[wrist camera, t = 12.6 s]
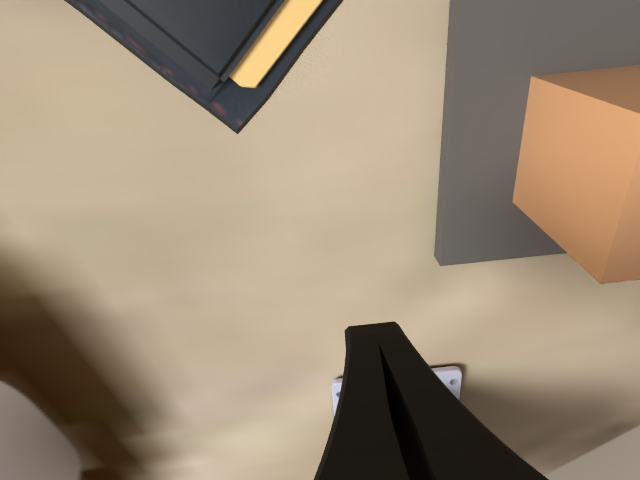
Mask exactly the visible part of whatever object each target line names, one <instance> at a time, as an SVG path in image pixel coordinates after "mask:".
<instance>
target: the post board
mask: <svg viewBox="0 0 640 480" xmlns="http://www.w3.org/2000/svg"><path fill="white" fill-rule="evenodd" d="M635 65H640V0H450V10H449V26H448V42H447V59H446V75H445V91H444V107H443V123H442V140H441V156H440V172H439V188H438V204H437V220H436V237H435V253H434V256H435V258H436V259H437V261H438V263H439V265H440V266H445V265H455V264H465V263H474V262H484V261H493V260H503V259H513V258H522V257H532V256H541V255H551V254H561V253H567V252H566V251H565V250H564V249H563V248H561V247H560V246H559V245H558V244H557V243H556V242H555V241H554V240H553V239H552V238H551V237H550V236H549V235H547V234H546V233H545V232H544V231H543V230H542V229H541V228H540V227H539V226H538V225H537V224H536V223H535V222H533V221H532V220H531V219H530V218H529V217H528V216H527V215H526V214H525V213H524V212H523V211H522V210H521V209H520V208H518V207H517V206H516V205H515V204H514V203H513V202H512V201H513V194H514V187H515V181H516V174H517V167H518V161H519V154H520V147H521V141H522V134H523V127H524V120H525V114H526V107H527V100H528V94H529V87H530V80H531V76H538V75H547V74H557V73H567V72H577V71H587V70H596V69H606V68H616V67H626V66H635Z"/></svg>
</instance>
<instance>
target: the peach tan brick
mask: <svg viewBox="0 0 640 480" xmlns="http://www.w3.org/2000/svg"><path fill="white" fill-rule="evenodd" d="M512 202H513V203H514V204H515V205H516V206H517V207H518V208H520V209H521V210H522V211H523V212H524V213H525V214H526V215H527V216H528V217H529V218H530V219H531V220H532V221H533V222H535V223H536V224H537V225H538V226H539V227H540V228H541V229H542V230H543V231H544V232H545V233H546V234H547V235H549V236H550V237H551V238H552V239H553V240H554V241H555V242H556V243H557V244H558V245H559V246H560V247H561V248H563V249H564V250H565V251H566V252H567V253H568V254H569V255H570V256H571V257H572V258H573V259H574V260H575V261H576V262H578V263H579V264H580V265H581V266H582V267H583V268H584V269H585V270H586V271H587V272H588V273H589V274H590V275H592V276H593V277H594V278H595V279H596V280H597V281H598V282H599V283H600V284H604V283H613V282H622V281H631V280H640V65H635V66H626V67H616V68H606V69H596V70H587V71H577V72H567V73H557V74H547V75H538V76H531V80H530V87H529V94H528V100H527V107H526V114H525V120H524V127H523V134H522V141H521V147H520V154H519V161H518V167H517V174H516V181H515V187H514V194H513V201H512Z"/></svg>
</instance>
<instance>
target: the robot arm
mask: <svg viewBox="0 0 640 480" xmlns="http://www.w3.org/2000/svg"><path fill="white" fill-rule="evenodd" d="M345 342H346V358H345V367H344V373H343V378H339V379H336V380H334V381H333V382H332V384H331V387H332V398H333V408H334V420H333V424H332V427H331V431H330V434H329V438H328V441H327V444H326V447H325V450H324V453H323V456H322V459H321V462H320V464H319V467H318V470H317V472H316V475H315V478H314V480H548V479H547V478H546V477H545V476H543V475H542V474H541V473H540V472H538V471H537V470H536V469H534V468H533V467H532V466H530V465H529V464H528V463H527V462H525V461H524V460H523V459H522V458H520V457H519V456H518V455H517V454H516V453H515V452H513V451H512V450H511V449H510V448H509V447H508V446H506V445H505V444H504V443H503V442H502V441H501V440H500V439H498V438H497V437H496V436H495V435H494V434H493V433H492V432H491V431H490V430H489V429H488V428H486V427H485V426H484V425H483V424H482V423H481V422H480V421H479V420H478V419H477V418H476V417H475V416H474V415H473V414H472V413H471V412H470V411H469V410H468V409H467V408H466V407H465V406H464V405H463V404H462V403H461V402H460V401H459V397H460V389H461V380H462V372H461V370H460V368H459V367H457V366H449V367H440V368H430V367H429V366H428V364H427V363H426V362H425V361H424V359H423V358H422V357H421V355H420V354H419V353H418V352H417V350H416V349H415V348H414V346H413V345H412V344H411V342H410V341H409V339H408V338H407V337H406V335H405V334H404V332H403V331H402V329H401V328H400V326H399V325H398V324H397V323H396V322H386V323H377V324H367V325H358V326H349V327H348V328H347V329H346V330H345ZM452 379H453V380H452Z"/></svg>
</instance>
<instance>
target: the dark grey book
mask: <svg viewBox="0 0 640 480" xmlns="http://www.w3.org/2000/svg"><path fill="white" fill-rule="evenodd" d="M65 1H66V2H68V3H69V4H70V5H72V6H73V7H74V8H75V9H77V10H78V11H79V12H81V13H82V14H83V15H85V16H86V17H87V18H88V19H90V20H91V21H92V22H94V23H95V24H96V25H97V26H99V27H100V28H101V29H102V30H104V31H105V32H106V33H107V34H109V35H110V36H111V37H113V38H114V39H115V40H116V41H118V42H119V43H120V44H121V45H123V46H124V47H125V48H126V49H128V50H129V51H130V52H132V53H133V54H134V55H135V56H137V57H138V58H139V59H140V60H142V61H143V62H144V63H145V64H147V65H148V66H149V67H151V68H152V69H153V70H154V71H156V72H157V73H158V74H159V75H161V76H162V77H163V78H164V79H166V80H167V81H168V82H170V83H171V84H172V85H174V86H175V87H176V88H178V89H179V90H180V91H182V92H183V93H184V94H186V95H187V96H188V97H190V98H191V99H192V100H194V101H195V102H196V103H198V104H199V105H201V106H202V107H203V108H205V109H206V110H207V111H209V112H210V113H211V114H212V115H214V116H215V117H216V118H218V119H219V120H220V121H221V122H223V123H224V124H225V125H227V126H228V127H229V128H230V129H232V130H233V131H234V132H236V133H237V134H238V133H239V132H240V130H241V129H242V128H243V127H244V126H245V125H246V124H247V123H248V121H249V120H250V119H251V118H252V117H253V116H254V115H255V113H256V112H257V111H258V110H259V109H260V108H261V107H262V105H263V104H264V103H265V102H266V101H267V100H268V99H269V97H270V96H271V94H272V93H273V92H274V90H275V89H276V87H277V86H278V85H279V83H280V82H281V81H282V79H283V78H284V76H285V75H286V74H287V72H288V71H289V70H290V68H291V67H292V65H293V64H294V63H295V61H296V60H297V58H298V57H299V56H300V54H301V53H302V52H303V50H304V49H305V48H306V46H307V45H308V44H309V42H310V41H311V40H312V39H313V37H314V36H315V35H316V34H317V32H318V31H319V30H320V28H321V27H322V26H323V25H324V23H325V22H326V21H327V20H328V18H329V17H330V16H331V14H332V13H333V12H334V11H335V9H336V8H337V7H338V5H339V4H340V3H341V2H342V0H65Z"/></svg>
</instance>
